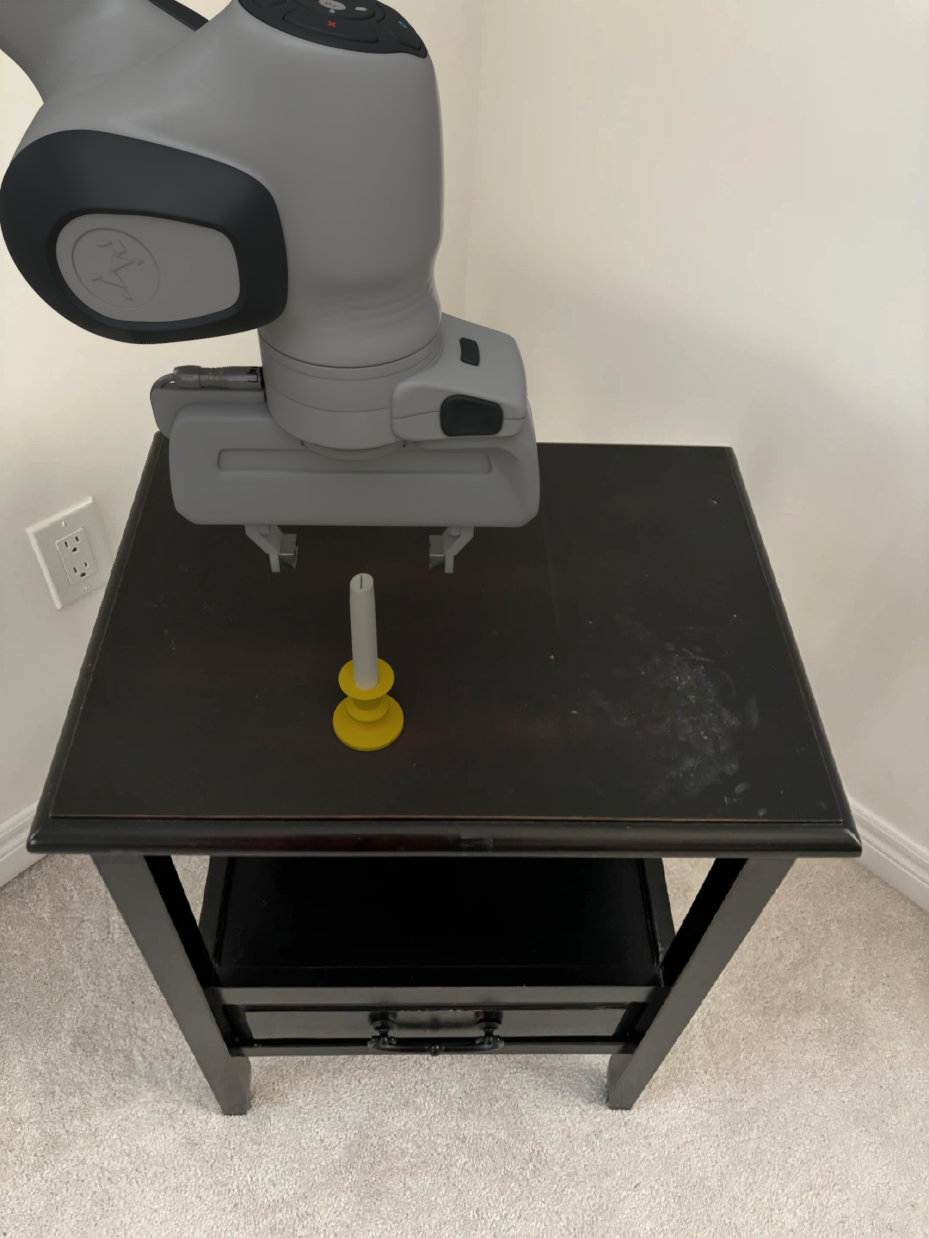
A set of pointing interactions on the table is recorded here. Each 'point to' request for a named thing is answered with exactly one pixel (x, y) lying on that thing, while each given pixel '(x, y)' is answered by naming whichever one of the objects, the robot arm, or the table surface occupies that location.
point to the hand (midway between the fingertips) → (363, 565)
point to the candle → (366, 680)
